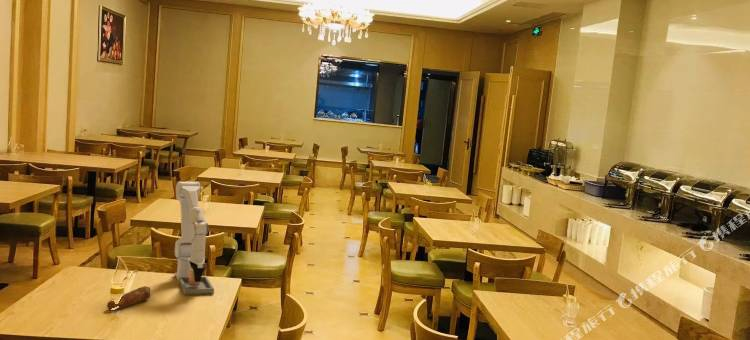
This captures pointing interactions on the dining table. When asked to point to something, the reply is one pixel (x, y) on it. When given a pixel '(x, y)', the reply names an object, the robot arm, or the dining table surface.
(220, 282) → the dining table surface
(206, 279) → the serving tray
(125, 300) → the bread
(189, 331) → the dining table surface
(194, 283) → the cup
